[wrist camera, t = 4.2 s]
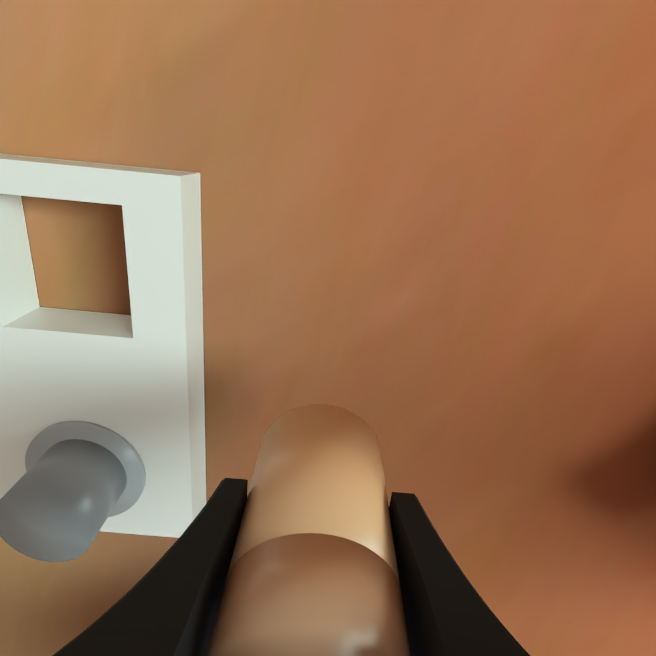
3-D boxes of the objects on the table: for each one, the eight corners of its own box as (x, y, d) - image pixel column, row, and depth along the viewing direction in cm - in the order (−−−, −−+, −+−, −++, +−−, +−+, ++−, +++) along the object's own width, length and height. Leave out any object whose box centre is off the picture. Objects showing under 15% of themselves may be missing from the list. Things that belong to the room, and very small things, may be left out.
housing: (200, 172, 18) (141, 182, 13) (206, 503, 25) (169, 603, 20) (-41, 149, 18) (-207, 149, 13) (30, 488, 25) (-57, 585, 19)
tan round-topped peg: (388, 410, 14) (434, 639, 7) (372, 507, 15) (398, 769, 9) (262, 398, 14) (196, 620, 7) (258, 498, 15) (199, 755, 9)
